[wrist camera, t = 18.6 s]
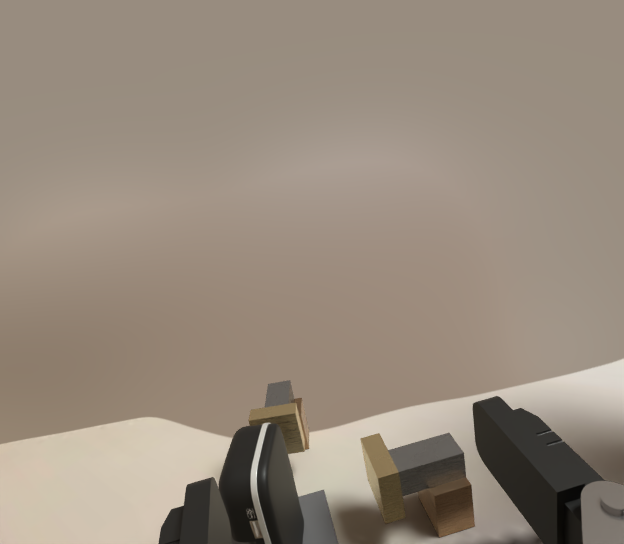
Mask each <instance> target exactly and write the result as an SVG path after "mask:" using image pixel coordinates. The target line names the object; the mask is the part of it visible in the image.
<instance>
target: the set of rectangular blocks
mask: <svg viewBox="0 0 624 544" xmlns="http://www.w3.org/2000/svg"><path fill="white" fill-rule="evenodd" d="M264 423H271V424H272V423H275V424H277V425H279V427H280V429H281V431H282V434H283V438H284V442H285V446H286V449H287V453H288V454H291V453H298V452H304V451H305V449H309V428H308V424H307V419H306V415H305V410H304V406H303V402H302V398H298V399H294V395H293V391H292V386H291V382H290V381H283V382H278V383H271V384H268V389H267V395H266V403H265V408H259V409H253V410H251V411H250V416H249V424H250V426H254V425H263V424H264ZM361 444H362V450H363V455H364V461H365V466H366V471H367V477H368V481H369V484H370V486H371V489H372V491H373V494H374V496H375V499H376V501H377V504H378V506H379V509H380V511H381V514H382V516H383V519H384V521H385V524H387V523H390V522H393V521H397V520H400V519H403V518H406V516H405V510H404V503H403V497H402V496H405V495H409V494H412V493H415V492H418V495H419V499H420V501H421V503H422V505H423V507H424V509H425V511H426V513H427V515H428V517H429V518H430V520H431V522H432V524H433V526H434V528H435V530H436V532H437V534H438V536H439V537H443V536H446V535H449V534H452V533H455V532H458V531H462V530H465V529H468V528H471V527H474V526H475V524H474V512H473V501H472V489H471V484H470V482H469V481H468V480H467V478H466V472H465V461H464V452H463V451H462V450H461V448H460V447H459V446H458V444H457V443H456V442H455V440H454V439H453V437H452V436H451V435H450V433H447V434H443V435H440V436H436V437H433V438H429V439H426V440H422V441H419V442H415V443H412V444H409V445H405V446H402V447H398V448H395V449H391V450H387V448H386V446H385V444H384V442H383V440H382V438H381V436H380V434H379V433H378V434H375V435H371V436H368V437H364V438H361Z"/></svg>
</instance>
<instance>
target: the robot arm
mask: <svg viewBox="0 0 624 544" xmlns="http://www.w3.org/2000/svg"><path fill="white" fill-rule="evenodd" d="M473 418H474V430H475V441H476V446H477V450H478V452H479V455H480V457H481V459H482V461H483V462H484V464H485V465H486V467H487V468H488V469H489V471H490V472H491V473H492V475H493V476H494V477H495V479H496V480H497V481H498V483H499V484H500V485H501V487H502V488H503V489H504V491H505V492H506V493H507V495H508V496H509V498H510V499H511V500H512V502H513V503H514V504H515V506H516V507H517V508H518V510H519V511H520V512H521V514H522V515H523V516H524V518H525V519H526V520H527V522H528V523H529V524H530V526H531V527H532V528H533V530H534V531H535V532H536V534H537V535H538V536H539V538H540V539H541V540H542V542H543V543H544V544H624V485H621V484H619V483H615V482H610V481H605V480H604V479H603V478H602V477H601V476H600V475H598V474H597V473H596V472H595V471H594V470H593V469H592V468H591V467H590V466H589V465H588V464H587V463H586V462H585V461H584V460H583V459H582V458H581V457H580V456H579V455H578V454H577V453H575V452H574V451H573V450H572V449H571V448H570V447H569V446H568V445H567V444H566V443H565V442H562V439H561V438H560V437H559V436H558V435H557V434H556V433H555V432H552V431H551V429H550V428H549V427H548V426H547V425H546V424H545V423H544V422H543V421H542V420H541V419H540V418H539V417H538V416H536V415H534V414H532V413H530V412H528V411H526V410H524V409H522V408H519V409H516V410H512V409H511V408H510V407H509V406H508V405H507V404H506V403H505V402H504V401H503V400H502V399H501V398H500V397H498V396H496V397H492V398H489V399H485V400H482V401H478V402H475V403H474V404H473ZM159 544H232V539H231V528H230V522H229V518H228V515H227V512H226V509H225V506H224V503H223V500H222V498H221V495H220V492H219V489H218V486H217V483H216V481H215V479H214V478H213V477H212V478H208V479H205V480H201V481H198V482H194V483H191V484H188V485H187V487H186V493H185V502H184V506H181V507H178V508H174V509H171V511H170V513H169V515H168V516H167V518H166V520H165V522H164V524H163V525H162V527H161V532H160V538H159Z"/></svg>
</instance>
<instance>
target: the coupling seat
mask: <svg viewBox="0 0 624 544" xmlns="http://www.w3.org/2000/svg"><path fill="white" fill-rule="evenodd" d="M298 499H299V503H300V507H301V511H302V514H303V518H304V533H303V544H338V541H337V537H336V533H335V529H334V526H333V522H332V518H331V514H330V511H329V507H328V503H327V500H326V496H325V492H324V490H321V491H318V492H314V493H311V494H307V495H304V496H301V497H298ZM231 539H232V537H231ZM232 544H249V542H246V543H244V542H236V541H234V540H233V539H232Z"/></svg>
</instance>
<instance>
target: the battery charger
mask: <svg viewBox="0 0 624 544" xmlns="http://www.w3.org/2000/svg"><path fill="white" fill-rule="evenodd" d="M219 492H220V495H221V498H222V500H223V503H224V506H225V509H226V512H227V515H228V518H229V522H230V528H231V537H232V539H233V540H234V541H236V542H244V543H246V542H249V544H303V533H304V518H303V514H302V511H301V507H300V503H299V499H298V495H297V491H296V486H295V482H294V478H293V474H292V469H291V465H290V461H289V457H288V453H287V449H286V446H285V442H284V438H283V434H282V431H281V429H280V427H279V425H277V424H275V423H272V424H271V423H264V424H263V425H254V426H246V427H242V428H241V429H239V430H238V431H237V432H236V433H235V435H234V437H233V439H232V442H231V445H230V448H229V451H228V454H227V457H226V460H225V463H224V466H223V469H222V472H221V476H220V480H219Z"/></svg>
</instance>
